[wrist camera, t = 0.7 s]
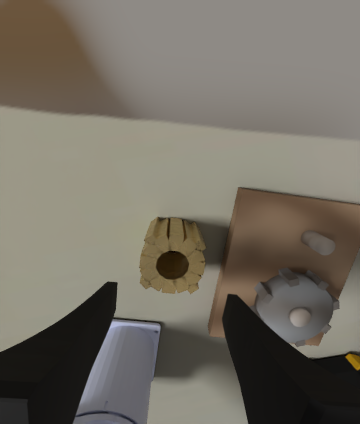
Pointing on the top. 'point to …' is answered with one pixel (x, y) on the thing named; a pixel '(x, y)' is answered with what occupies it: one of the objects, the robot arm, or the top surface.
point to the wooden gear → (172, 256)
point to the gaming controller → (343, 368)
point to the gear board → (287, 262)
